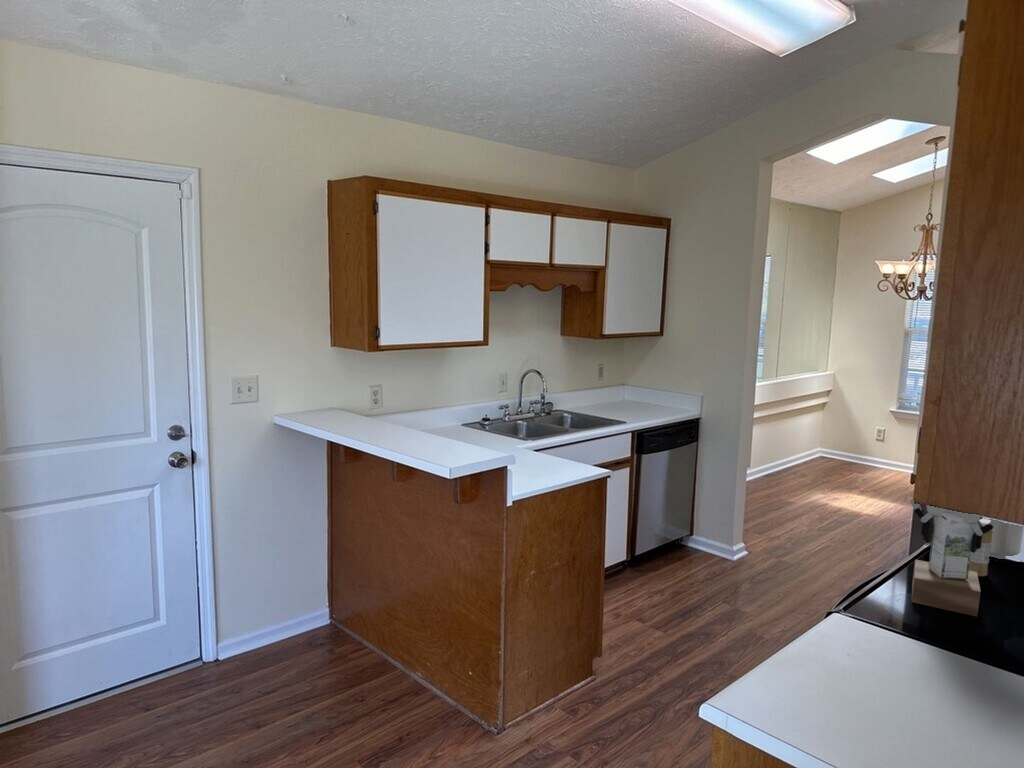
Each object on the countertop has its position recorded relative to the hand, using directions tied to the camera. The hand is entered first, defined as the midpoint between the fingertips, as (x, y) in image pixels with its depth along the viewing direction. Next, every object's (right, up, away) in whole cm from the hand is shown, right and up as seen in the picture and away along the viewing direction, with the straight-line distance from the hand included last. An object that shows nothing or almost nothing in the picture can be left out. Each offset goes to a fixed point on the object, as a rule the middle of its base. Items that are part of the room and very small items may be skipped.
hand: (949, 544), depth 150 cm
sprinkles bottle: (+17, -11, +16) cm, 25 cm away
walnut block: (0, -13, +2) cm, 13 cm away
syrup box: (0, -7, +1) cm, 7 cm away
